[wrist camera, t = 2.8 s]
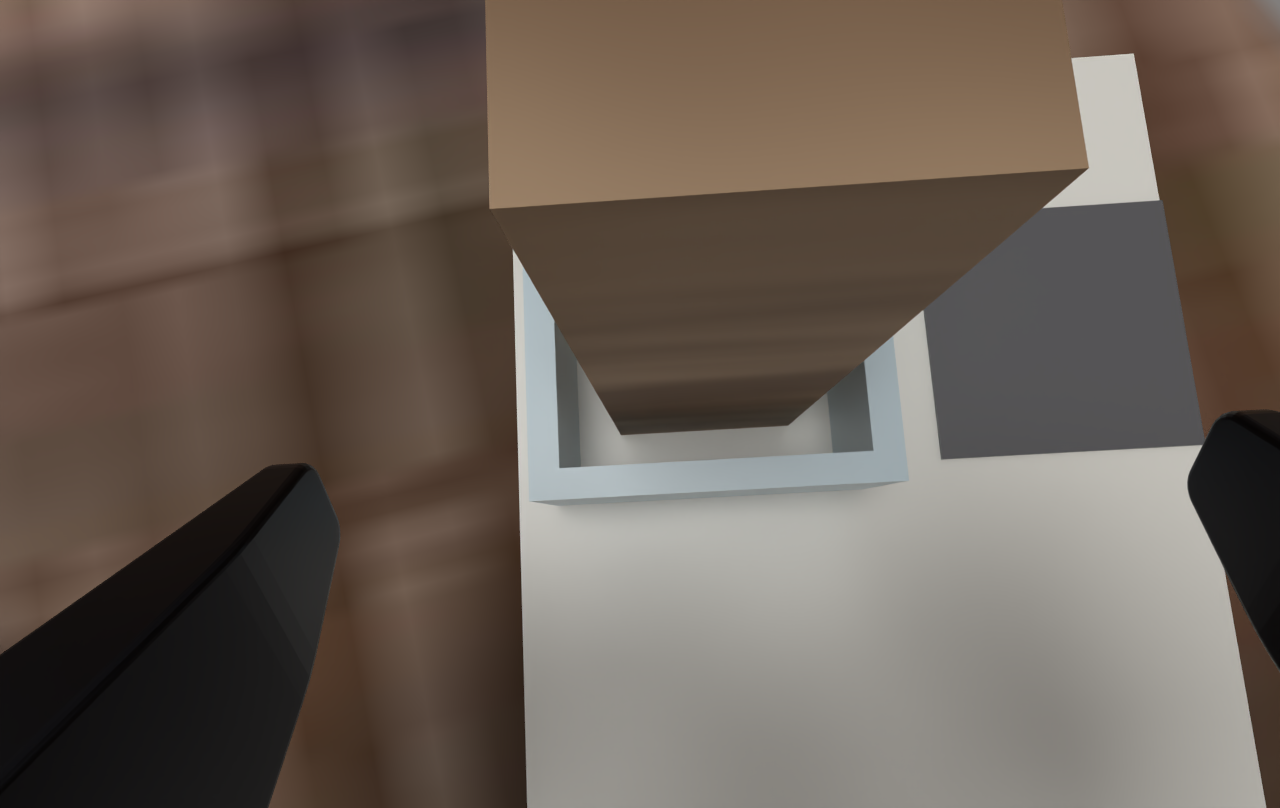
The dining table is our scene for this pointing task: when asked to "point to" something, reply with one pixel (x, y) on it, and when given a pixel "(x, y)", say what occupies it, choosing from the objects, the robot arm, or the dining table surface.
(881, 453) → the sleeve
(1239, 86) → the dining table surface
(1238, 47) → the dining table surface
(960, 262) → the walnut block
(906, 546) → the board
